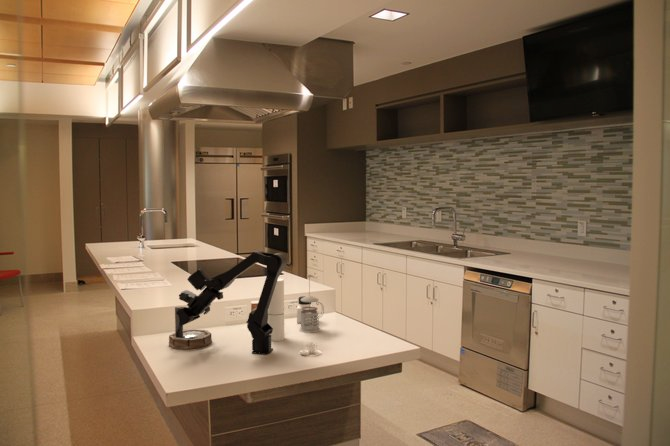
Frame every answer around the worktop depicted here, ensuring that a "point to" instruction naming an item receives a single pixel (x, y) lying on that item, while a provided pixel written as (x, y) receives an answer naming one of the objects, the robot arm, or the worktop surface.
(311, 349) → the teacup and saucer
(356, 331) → the worktop surface
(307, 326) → the french press
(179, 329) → the dial
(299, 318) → the medicine bottle
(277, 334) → the cylindrical container
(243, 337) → the worktop surface
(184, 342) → the dial housing
